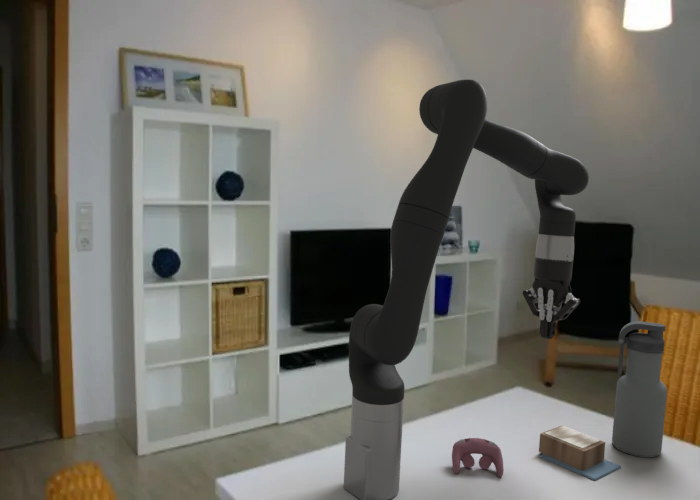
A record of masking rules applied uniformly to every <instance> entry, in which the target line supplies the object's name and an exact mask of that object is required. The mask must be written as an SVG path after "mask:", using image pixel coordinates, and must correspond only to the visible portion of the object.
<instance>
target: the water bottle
mask: <svg viewBox="0 0 700 500" xmlns="http://www.w3.org/2000/svg"><path fill="white" fill-rule="evenodd" d="M634 330H636V331H637V330H644V331H645V330H646V331H647V333H646V332H632V333H630V332H631V331H634ZM664 332H666V324H662V323H659V322H658V323H657V322H649V321H648V322H647V321H639V320H638V321H631V322H629V323H627V324H625V325H624V326H623V327H622V328H621V330H620V331H619V335H618V340H617V341H618V343H619V344H620V347H619V348H620V349H619V357H618V367H617V376H620V377H619V378H618V379H617V382H616V389H615V402H614V414H613V424H612V434H611V435H612V436H611V442H612V444H613V446H614V447H616V448H615V449H618V450H620V451H621V452H623V453H625V454H628V455H631V456H634V457H639V458H654V457H657V456H659V455H660V454H661V453H662V449H663V437H664V427H665V417H666V406H667V399H668V398H667V397H668V389H667V386H666V385H665V383H664V382H662V380H661V370H662V369H661V368H662V359H663V357H662V356H663V355H664V351H665V342H666V341H665V339H664ZM628 333H630V334H628ZM627 334H628V336H627ZM626 336H627V337H626ZM626 344H627V347H626V349H627V358H626V359H627V361H626V368H625V369H626V371H625V374H624V375H622V371H623V361H624V349H625V347H624V346H625V345H626Z"/></svg>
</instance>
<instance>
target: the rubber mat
mask: <svg viewBox="0 0 700 500" xmlns="http://www.w3.org/2000/svg"><path fill="white" fill-rule="evenodd" d="M540 458H542V459H545V460H546V461H550V462H551V463H553V464H556V465H557V466H560V467H563V468H565V469H567V470H570V471H572V472H573V473H576V474H578V475H581V476H582V477H586V478H587V479H590V480H592V481H593V482H594V481H598V480H599V479H601V478H603V477H605V476H607V475H609V474H611V473H613V472H615V471H617V470H619V469H621V468H622V465H621V464H618V463H617V462H616V463H615V462H612V461H610V460H608V459H606V458H604V461H603V462H600V463H598V464H596V465H594V466H592V467H590V468H588V469H586V470H584V471H582V470H579V469H577V468H575V467H573V466H570V465H568V464H566V463H563V462H561V461H559V460H556V459H554V458H552V457H550V456H547V455H545V454H543V453H541V454H540Z"/></svg>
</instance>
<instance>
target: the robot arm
mask: <svg viewBox="0 0 700 500" xmlns="http://www.w3.org/2000/svg"><path fill="white" fill-rule="evenodd" d="M418 109H419V115H420V120H421V121H422V123H423V125H424V126H425V128H426V129H427V130H428V131H430V132H432V133H433V134H435V135H437V137H436V139H435V143H434V145H433V147H432V149H431V152H430V154H429V155H428V157H427V159H426V160H425V162H424V163H423V164H422V166H421V167H420V169H419V170H418V171H417V172H416V173H415V174H414V176H413V177H412V179H411V180H410V181H409V183H408V184H407V186H406V187H405V189H404V190H403V192H402V195H401V196H400V199H399V201H398V204H397V208H396V211H395V214H394V217H393V220H392V224H391V228H390V235H389V238H390V239H389V244H390V257H391V278H390V283H389V287H388V291H387V294H386V297H385V300H384V303H383V305H382V304H377V303H371V304H367V305H364V306H363V307H361V308H359V309H358V310H357V312H356V313H355V315H354V316H353V318H352V320H351V323H350V327H349V334H348V335H349V336H348V373H349V374H348V375H349V379H350V383H351V385H352V386H351V389H352V394H351V396H352V397H351V398H352V399H351V416H350V434H349V436H347V437H346V438H345V445H344V446H345V447H344V469H343V472H344V475H343V488H344V489H345V490H346V491H347V492H349V493H351V495H353V496H355V497H356V498H357V499H359V500H390V499H393V498H395V497H396V496H397V495H398V494H399V492H400V477H401V476H400V475H401V458H402V442H403V438H402V437H403V423H404V422H403V421H404V405H405V404H404V403H405V383H404V380H403V379H402V377H401V375H400V374H399V371H398V370H397V368H396V365H398V364H401V363H402V362H403V361H405V360H406V359H407V358H408V356H410V354H411V353H412V350H413V348H414V347H415V345H416V341H417V338H418V333H419V328H420V325H421V320H422V314H423V310H424V304H425V300H426V295H427V291H428V288H429V284H430V279H431V276H432V273H433V269H434V266H435V263H436V259H437V256H438V253H439V250H440V247H441V243H442V242H443V238H444V235H445V232H446V229H447V225H448V223H449V220H450V216H451V212H452V208H453V205H454V202H455V199H456V195H457V193H458V189H459V187H460V184H461V182H462V179H463V178H462V177H463V176H464V175H463V174H464V171H465V169H466V166H467V164H468V160H469V159H470V156H471V154H472V151H473V149H474V150H477V151H478V152H480V153H484V155H486V156H489V157H491V158H493V159H495V161H498V162H500V163H502V164H504V165H505V166H507V167H508V168H510V169H511V170H513V171H515V172H517V173H518V174H520V175H522V176H523V177H526V178H527V179H531V180H534V188H535V194H536V198H537V205H538V209H539V216H540V217H539V224H538V235H537V240H536V245H535V255H534V267H533V268H534V269H533V277H534V281H533V282H532V284H531V287H530V288H529V289H526V290H523V291H522V295H523V298H524V299H525V302H526V303H527V305H528V307H529V310H530V311H531V313H532V315H533V316H536V317H537V318H539V321H540V322H539V323H540V324H539V335H540V337H541V338H542V339H546V340H551V339H553V337H555V335H556V327H557V323H558V321H564V320H565V319H566V320H567V318H568V317H569V316H570V315H571V313H573V311H575V310H576V309H577V307H579V305H580V304H581V299H580V298H577V297H575V296H574V295H573V294H572V288H571V287H572V286H571V284H570V283H571V281H572V277H573V269H574V268H573V267H574V266H573V265H574V257H575V231H576V230H575V229H576V220H577V216H576V215H577V214H576V212H575V210H574V209H573V208H571V207H568V206H566V205H564V204H563V201H562V197H561V196H575V195H578V194H580V193H582V192H583V191H584V190H585V189H586V188H587V186H588V184H589V179H590V178H589V177H590V176H589V172H588V169H587V167H586V166H585V165H584V164H583V162H581V161H580V160H579V159H577V158H575V157H573V156H570V155H568V154H565V153H562V152H560V151H557V150H554V149H551V148H548V147H547V146H546V145H545V144H543V143H541V142H540V141H538V140H537V139H535V138H534V137H532V136H531V135H529V134H528V133H525V132H524V131H520V130H518V129H515V128H512V127H509V126H507V125H503V124H500V123H497V122H494V121H491V120H490V119H487V118H486V117H487V112H488V97H487V93H486V90H485V88H484V86H483V85H482V84H481V83H480V82H479V81H476V80H474V79H460V80H459V79H458V80H454V81H452V82H446V83H442V84H439V85H436V86H432V87H431V88H430V89H428V90H427V91H426V92H425V93H424V94H423V96H422V97H421V99H420V102H419V108H418ZM563 303H564V305H563V306H562V304H563Z"/></svg>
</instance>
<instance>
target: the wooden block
mask: <svg viewBox="0 0 700 500" xmlns="http://www.w3.org/2000/svg"><path fill="white" fill-rule="evenodd" d="M605 449H606V441H604V440H601V439H599V438H596V437H593V436H591V435H589V434H586V433H583V432H580V431H578V430H576V429H573V428H570V427H568V426H565V425H560V426H558V427H555V428H551V429H549V430H546V431H544V432H541V433H539V444H538V453H541V454H545V455H547V456H550V457H552V458H554V459H556V460H559V461H561V462H563V463H566V464H568V465H570V466H573V467H575V468H577V469H579V470H582V471H584V470H586V469H588V468H590V467H592V466H594V465H596V464H598V463H600V462H603V461H604V459H605V452H606V450H605Z"/></svg>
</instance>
